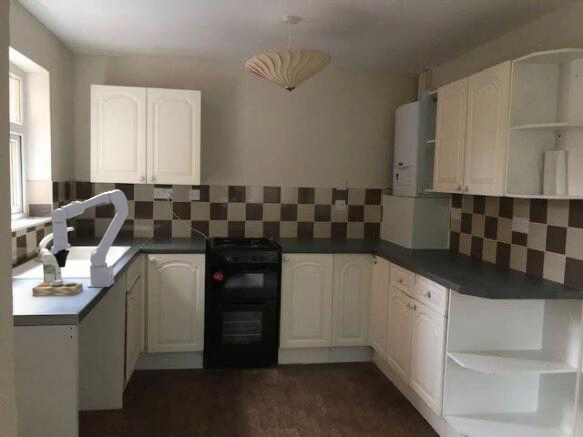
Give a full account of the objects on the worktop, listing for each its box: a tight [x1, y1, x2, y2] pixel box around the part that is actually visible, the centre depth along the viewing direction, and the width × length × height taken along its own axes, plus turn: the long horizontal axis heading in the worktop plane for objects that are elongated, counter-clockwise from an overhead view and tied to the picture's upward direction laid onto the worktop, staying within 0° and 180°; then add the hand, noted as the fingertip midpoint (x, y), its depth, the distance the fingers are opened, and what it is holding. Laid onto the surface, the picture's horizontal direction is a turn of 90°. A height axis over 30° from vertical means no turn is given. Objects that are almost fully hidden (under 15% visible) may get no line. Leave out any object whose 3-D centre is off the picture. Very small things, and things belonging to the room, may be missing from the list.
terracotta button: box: [38, 282, 50, 287], centre depth 207 cm, size 4×4×2 cm
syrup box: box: [41, 251, 63, 283], centre depth 221 cm, size 6×6×14 cm
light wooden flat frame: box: [31, 282, 84, 296], centre depth 207 cm, size 17×9×3 cm, turn 92°
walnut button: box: [66, 282, 77, 287], centre depth 207 cm, size 4×4×2 cm
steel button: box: [52, 279, 64, 287], centre depth 207 cm, size 4×4×2 cm
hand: (62, 267), depth 213 cm, fingers closed
